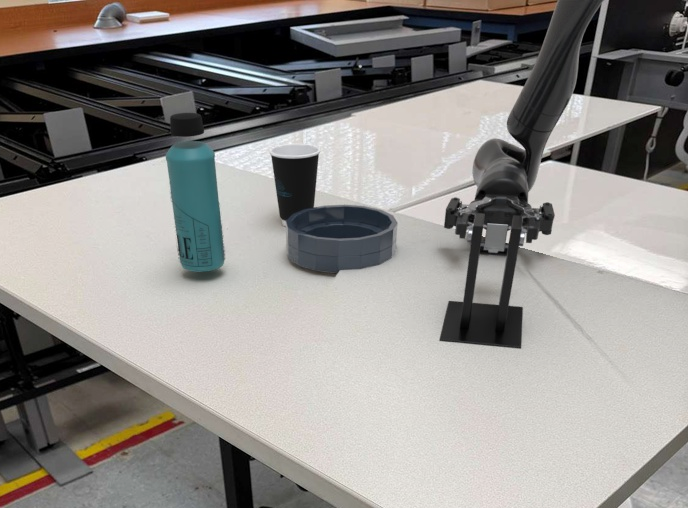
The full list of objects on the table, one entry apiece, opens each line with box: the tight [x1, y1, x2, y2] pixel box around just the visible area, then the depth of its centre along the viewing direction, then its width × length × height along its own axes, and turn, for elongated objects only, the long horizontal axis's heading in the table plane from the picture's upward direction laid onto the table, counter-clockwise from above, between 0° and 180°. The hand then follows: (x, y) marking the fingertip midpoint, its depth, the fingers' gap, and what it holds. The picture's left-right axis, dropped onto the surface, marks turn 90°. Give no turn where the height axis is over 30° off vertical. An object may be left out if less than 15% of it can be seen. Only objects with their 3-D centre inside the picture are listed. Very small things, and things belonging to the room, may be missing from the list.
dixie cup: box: [268, 143, 322, 228], centre depth 113 cm, size 8×8×11 cm
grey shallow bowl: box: [285, 204, 398, 274], centre depth 103 cm, size 16×16×5 cm
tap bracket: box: [439, 213, 526, 349], centre depth 81 cm, size 11×9×13 cm
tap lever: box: [479, 223, 509, 258], centre depth 83 cm, size 13×5×2 cm, turn 166°
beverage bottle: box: [165, 112, 226, 273], centre depth 94 cm, size 6×7×20 cm
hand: (496, 233), depth 92 cm, fingers open, 8 cm apart
